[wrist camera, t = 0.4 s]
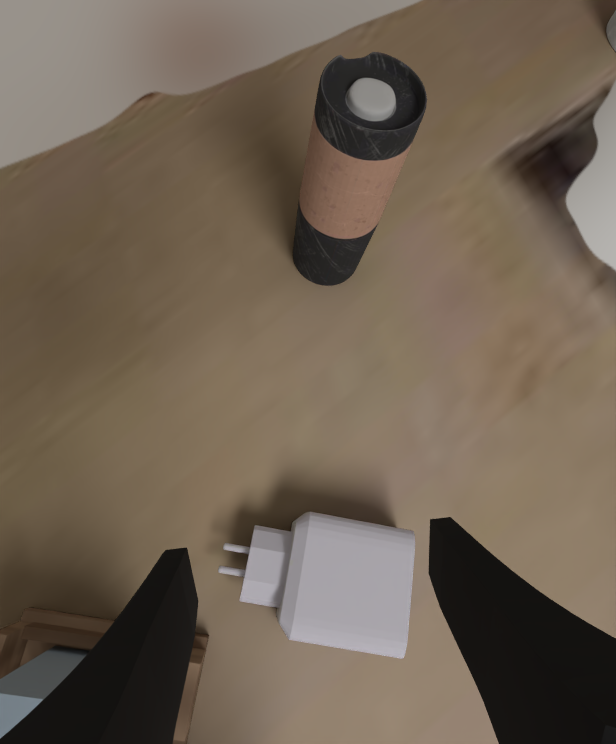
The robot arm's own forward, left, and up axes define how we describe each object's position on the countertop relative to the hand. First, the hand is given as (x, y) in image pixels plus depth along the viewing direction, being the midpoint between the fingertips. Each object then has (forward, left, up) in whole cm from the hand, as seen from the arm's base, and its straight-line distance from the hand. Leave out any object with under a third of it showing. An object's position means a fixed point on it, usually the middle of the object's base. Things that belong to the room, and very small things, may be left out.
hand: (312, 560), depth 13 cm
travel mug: (+29, -1, -28) cm, 40 cm away
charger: (-2, -4, -28) cm, 28 cm away
